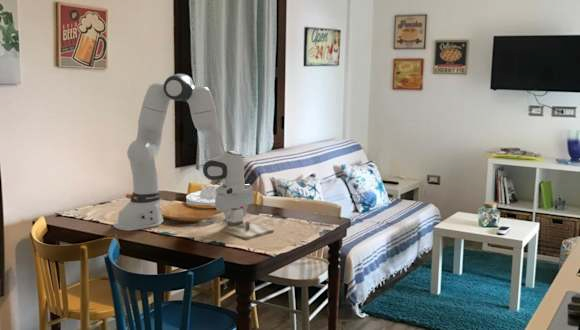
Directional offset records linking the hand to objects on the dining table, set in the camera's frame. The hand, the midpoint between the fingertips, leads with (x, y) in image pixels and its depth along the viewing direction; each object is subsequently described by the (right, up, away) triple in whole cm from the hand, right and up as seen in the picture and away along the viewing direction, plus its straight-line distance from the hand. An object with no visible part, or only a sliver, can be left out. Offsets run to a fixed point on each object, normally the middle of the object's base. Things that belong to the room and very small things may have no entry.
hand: (235, 216), depth 284 cm
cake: (-15, +4, +41) cm, 44 cm away
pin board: (+6, -5, -11) cm, 14 cm away
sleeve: (0, -3, +1) cm, 3 cm away
